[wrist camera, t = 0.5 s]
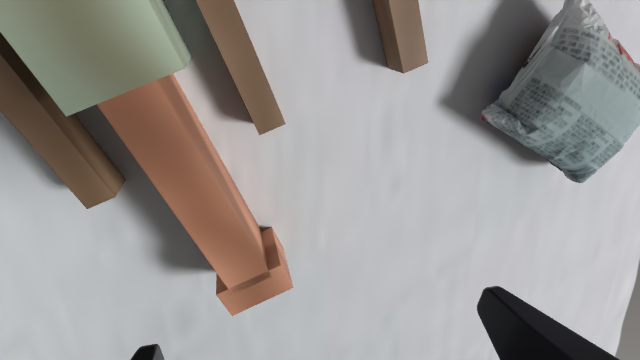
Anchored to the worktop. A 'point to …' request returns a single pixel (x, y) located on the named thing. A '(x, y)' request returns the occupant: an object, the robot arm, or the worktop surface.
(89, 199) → the lane rack
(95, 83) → the block
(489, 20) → the worktop surface
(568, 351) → the robot arm
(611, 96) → the packaged food
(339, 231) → the worktop surface
